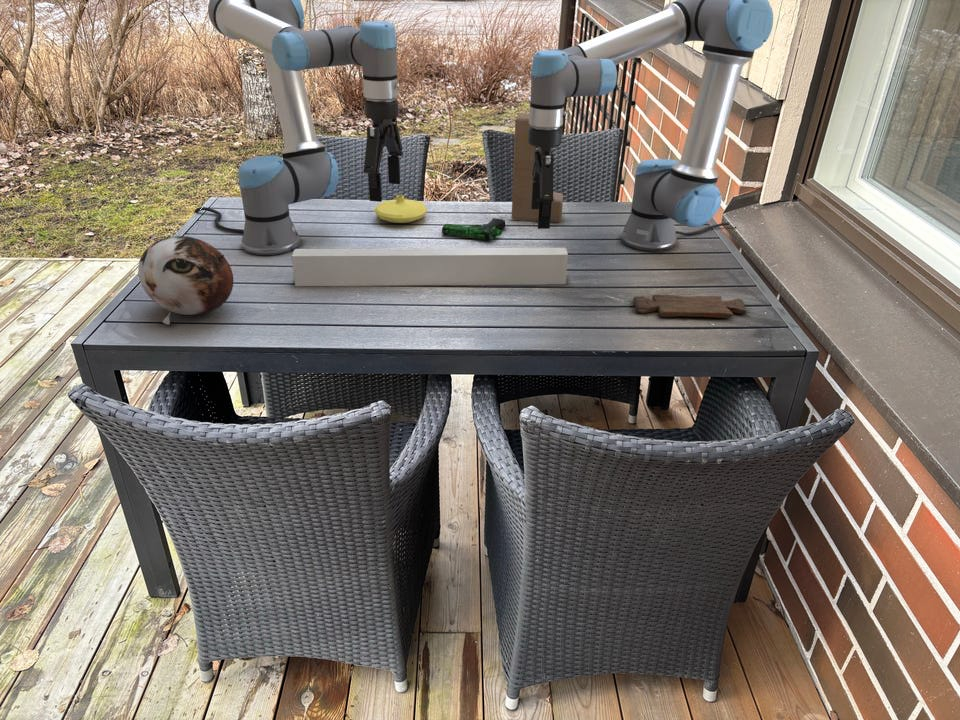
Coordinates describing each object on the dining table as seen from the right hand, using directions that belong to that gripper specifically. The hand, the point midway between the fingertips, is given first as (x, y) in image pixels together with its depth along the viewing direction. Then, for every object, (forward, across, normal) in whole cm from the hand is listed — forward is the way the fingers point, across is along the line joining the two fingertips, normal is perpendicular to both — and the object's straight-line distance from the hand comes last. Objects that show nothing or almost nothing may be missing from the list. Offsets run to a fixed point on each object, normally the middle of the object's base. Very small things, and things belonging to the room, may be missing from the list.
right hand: (540, 218), depth 170 cm
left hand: (-5, +5, +37) cm, 37 cm away
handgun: (+17, +35, +14) cm, 41 cm away
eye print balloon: (+17, -14, +80) cm, 83 cm away
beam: (+17, +1, +26) cm, 31 cm away
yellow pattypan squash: (+17, +46, +36) cm, 61 cm away
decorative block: (+17, +47, -6) cm, 50 cm away
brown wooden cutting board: (+17, -15, -34) cm, 41 cm away
